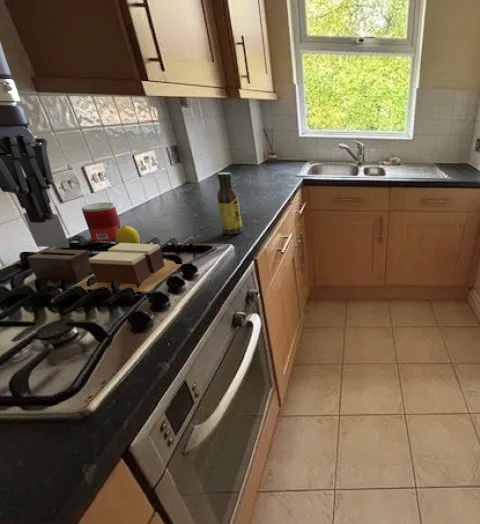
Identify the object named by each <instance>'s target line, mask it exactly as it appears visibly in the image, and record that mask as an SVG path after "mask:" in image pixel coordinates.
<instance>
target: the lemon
mask: <svg viewBox="0 0 480 524" xmlns="http://www.w3.org/2000/svg"><path fill="white" fill-rule="evenodd" d="M115 241H116V244H119V243H137V244H141V238H140V234H139V232H138V231H137V229H135V228H134V227H131V226H130V225H129V226H127V225H125V224H124V225H121V228H119V229H118V230H117V232H116V240H115Z"/></svg>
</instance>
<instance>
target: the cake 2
mask: <svg viewBox="0 0 480 524" xmlns="http://www.w3.org/2000/svg"><path fill="white" fill-rule="evenodd" d="M107 252H122V253H144V254H145V258H146V261H147V265H148V268H149V271H150V273H155V272H157V271H158V270H160V269H161V268H162V267H164V266H165V264H164V261H165V260H164V257H163V253H162V249H161V246H160V244H159V243H158V244H157V243H140V244H137V243H119V244H118V243H116V244H115V245H113V246H112V247H109V248H108V249H107Z"/></svg>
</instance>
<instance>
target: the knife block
mask: <svg viewBox="0 0 480 524" xmlns="http://www.w3.org/2000/svg"><path fill="white" fill-rule="evenodd" d="M90 258H91V257H90V253H89V252H88V250H83V249H82V250H80V249H61V248H60V249H59V248H58V249H56V248H45V249H43V250H40V251H39V252H37V253H34V254H32V255H29V256H27V257H26V259H27V261H28V263H29V265H30V268H31V270H32V272H33V274H34V276H35V279H37V280H54V281H56V280H57V281H76V282H78V281H80V280H83V278H84V279H85V277H88V276H89V275H91V274H93V270H92V267H91V265H90V262H89V259H90Z"/></svg>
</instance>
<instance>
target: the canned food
mask: <svg viewBox="0 0 480 524" xmlns="http://www.w3.org/2000/svg"><path fill="white" fill-rule="evenodd" d="M81 211H82V215H83V217H84V220H85V224H86V226H87V228H88V231H89V234H90V236H91V240H92V239H93V240H94V241H100V240H102V241H107V242H108V241H111V240H115V241H116V232H117V230H118V229H119V228H121V227H122V224H121V221H120V218H119V215H118V212H117V208H116V205H115V203H113V202H96V203H90V204H86V205H83V206H82V207H81ZM93 240H92V241H93ZM94 241H93V242H94Z"/></svg>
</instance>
